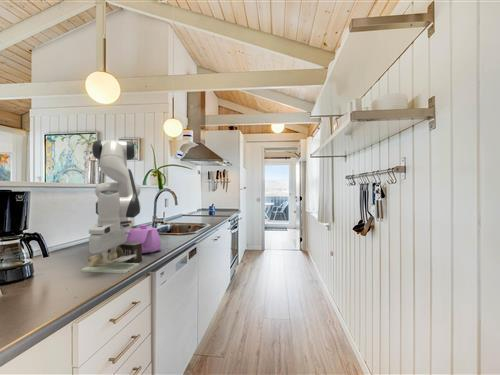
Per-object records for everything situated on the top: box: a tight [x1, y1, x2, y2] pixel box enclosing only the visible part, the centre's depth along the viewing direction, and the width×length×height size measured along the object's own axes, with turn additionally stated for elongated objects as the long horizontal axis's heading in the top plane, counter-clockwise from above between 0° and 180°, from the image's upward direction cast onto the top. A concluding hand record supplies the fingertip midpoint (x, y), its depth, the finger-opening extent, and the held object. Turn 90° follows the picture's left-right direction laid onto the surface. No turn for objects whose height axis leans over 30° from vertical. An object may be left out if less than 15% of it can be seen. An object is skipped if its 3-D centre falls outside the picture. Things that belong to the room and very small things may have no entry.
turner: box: [87, 251, 136, 266], centre depth 114 cm, size 19×8×4 cm, turn 84°
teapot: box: [125, 223, 162, 254], centre depth 141 cm, size 23×21×15 cm
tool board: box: [80, 262, 140, 274], centre depth 114 cm, size 11×20×1 cm, turn 84°
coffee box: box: [107, 242, 143, 263], centre depth 125 cm, size 9×6×16 cm
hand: (109, 258), depth 114 cm, fingers closed on turner, 2 cm apart
